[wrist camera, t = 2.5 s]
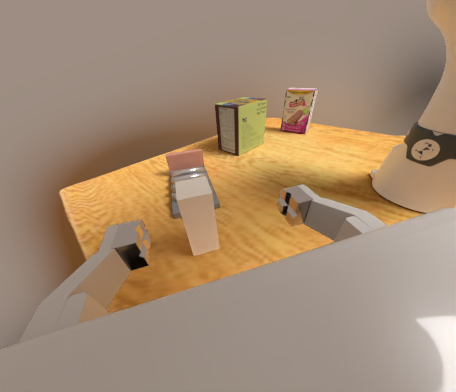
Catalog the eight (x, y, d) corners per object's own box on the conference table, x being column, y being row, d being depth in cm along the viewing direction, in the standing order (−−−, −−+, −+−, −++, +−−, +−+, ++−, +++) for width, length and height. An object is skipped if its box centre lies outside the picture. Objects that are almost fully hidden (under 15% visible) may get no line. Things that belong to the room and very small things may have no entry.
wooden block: (213, 229, 32) (205, 176, 25) (219, 248, 29) (212, 193, 22) (190, 235, 31) (175, 181, 24) (193, 256, 28) (176, 200, 21)
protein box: (264, 143, 66) (267, 98, 57) (238, 156, 58) (238, 106, 48) (243, 138, 72) (244, 96, 63) (217, 149, 64) (213, 103, 54)
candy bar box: (280, 131, 77) (285, 89, 67) (283, 128, 80) (290, 87, 70) (305, 134, 72) (315, 89, 62) (308, 131, 75) (318, 88, 65)
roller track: (203, 167, 53) (201, 148, 49) (220, 207, 37) (217, 184, 33) (171, 173, 51) (165, 154, 47) (174, 218, 35) (166, 195, 31)
